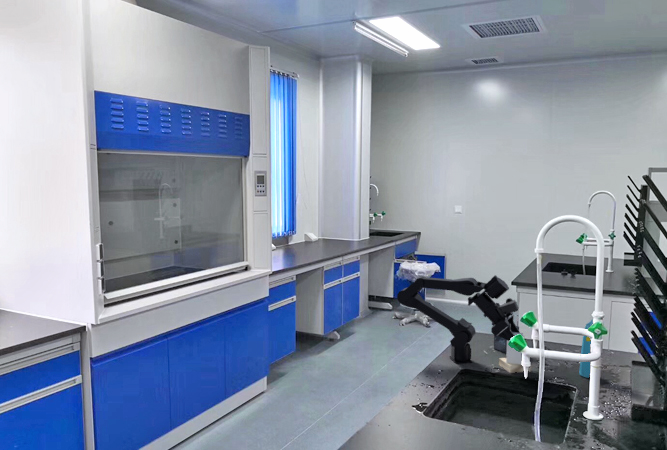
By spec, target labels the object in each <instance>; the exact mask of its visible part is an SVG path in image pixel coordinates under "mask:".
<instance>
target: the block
mask: <svg viewBox="0 0 667 450" xmlns="http://www.w3.org/2000/svg"><path fill="white" fill-rule="evenodd" d="M498 366H500V367H501V368H503V370H505V371H507V372H508V373H509V374H516V373H515V372H517V373H524V372H523V367H522V365H519V364H512V363H506V357H499V358H498ZM530 372H532V366H531V367H530V368H529V373H530Z"/></svg>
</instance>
